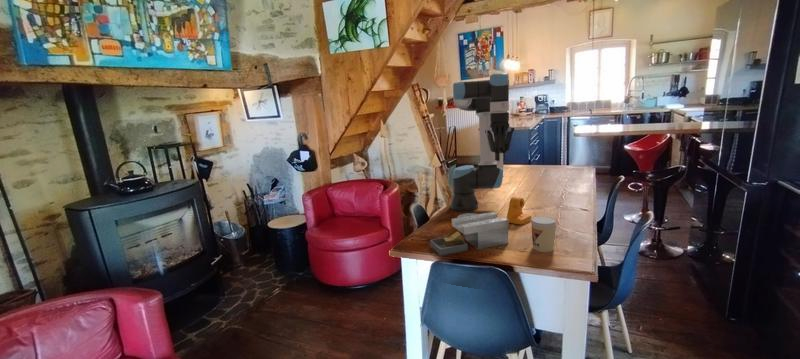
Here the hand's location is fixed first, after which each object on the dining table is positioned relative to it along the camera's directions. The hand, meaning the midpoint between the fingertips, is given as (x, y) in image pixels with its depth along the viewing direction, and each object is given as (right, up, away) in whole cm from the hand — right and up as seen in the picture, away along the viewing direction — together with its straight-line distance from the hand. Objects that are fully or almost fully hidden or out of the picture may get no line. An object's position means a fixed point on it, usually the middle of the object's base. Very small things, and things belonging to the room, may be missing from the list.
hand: (500, 167), depth 160 cm
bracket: (+15, -26, +22) cm, 37 cm away
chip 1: (-21, -31, -4) cm, 38 cm away
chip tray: (-23, -34, -4) cm, 41 cm away
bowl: (-10, -29, +16) cm, 34 cm away
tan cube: (-18, -31, -4) cm, 36 cm away
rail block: (-9, -32, -1) cm, 33 cm away
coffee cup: (+15, -33, -10) cm, 37 cm away
